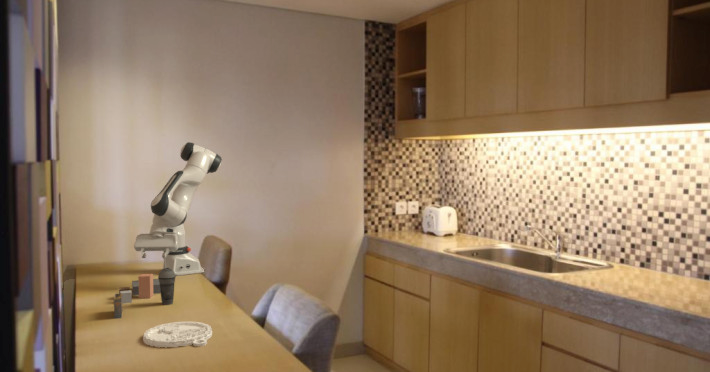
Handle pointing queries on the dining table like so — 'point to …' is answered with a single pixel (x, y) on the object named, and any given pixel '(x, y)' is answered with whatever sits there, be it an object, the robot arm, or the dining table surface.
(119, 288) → the walnut block
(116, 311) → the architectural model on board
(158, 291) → the block
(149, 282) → the terracotta block
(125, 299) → the grey plastic block
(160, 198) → the robot arm
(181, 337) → the medallion
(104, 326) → the dining table surface
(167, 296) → the beverage cup
